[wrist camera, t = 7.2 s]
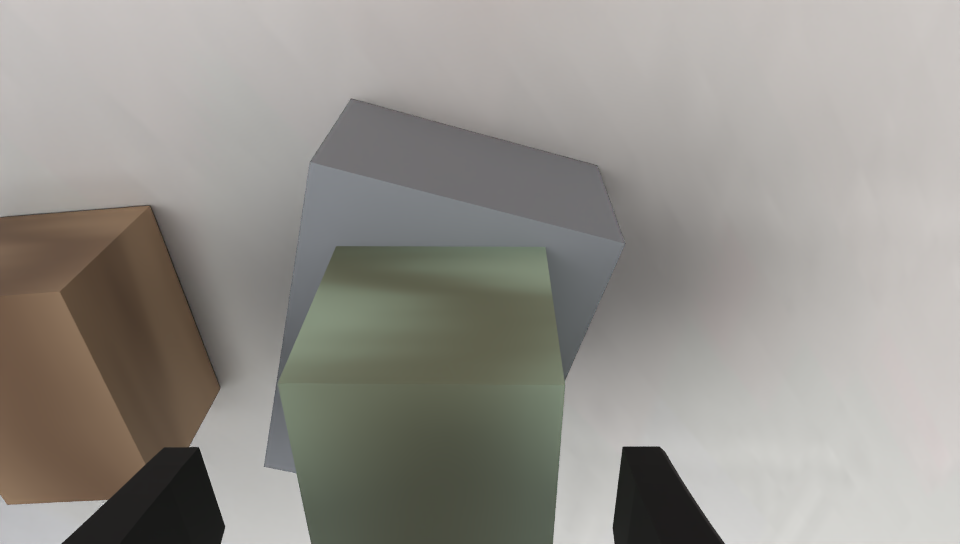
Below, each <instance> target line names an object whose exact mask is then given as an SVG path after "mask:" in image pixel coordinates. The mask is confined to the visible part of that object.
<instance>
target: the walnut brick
mask: <svg viewBox="0 0 960 544" xmlns="http://www.w3.org/2000/svg"><path fill="white" fill-rule="evenodd" d="M219 390H220V387H219V384H218V381H217V379H216V376H215V374H214V371H213V368H212V366H211V363H210V361H209V358H208V355H207V353H206V350H205V348H204V345H203V342H202V340H201V337H200V335H199V332H198V329H197V327H196V324H195V322H194V319H193V316H192V314H191V311H190V309H189V306H188V303H187V301H186V298H185V296H184V293H183V290H182V288H181V285H180V283H179V280H178V277H177V275H176V272H175V270H174V267H173V264H172V262H171V259H170V257H169V254H168V251H167V249H166V246H165V244H164V241H163V238H162V236H161V233H160V230H159V228H158V225H157V223H156V220H155V217H154V215H153V212H152V210H151V207H150V206H139V207H127V208H114V209H102V210H89V211H76V212H64V213H51V214H38V215H26V216H13V217H1V218H0V495H1V496H2V498H3V499H4V501H5V502H6V504H7V505H11V504H31V503H52V502H72V501H93V500H109V499H110V498H111V497H112V496H113V495H114V494H115V493H116V492H117V491H118V490H119V489H120V488H121V487H122V486H123V485H125V484H126V483H127V482H128V481H129V480H130V479H131V478H132V477H133V476H134V475H135V474H136V473H137V472H138V471H139V470H140V469H141V468H142V467H143V466H144V465H145V464H146V463H148V462H149V461H150V460H151V459H152V458H153V457H154V456H155V455H156V454H157V453H158V452H159V451H160V450H162V449H163V448H164V447H189V446H190V444H191V442H192V440H193V438H194V437H195V435H196V433H197V431H198V429H199V427H200V425H201V424H202V422H203V420H204V418H205V416H206V414H207V412H208V411H209V409H210V407H211V405H212V403H213V401H214V399H215V398H216V396H217V394H218V392H219Z"/></svg>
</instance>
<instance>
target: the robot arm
mask: <svg viewBox="0 0 960 544" xmlns="http://www.w3.org/2000/svg"><path fill="white" fill-rule="evenodd" d="M224 530H225V525H224V522H223V519H222V516H221V513H220V510H219V507H218V504H217V501H216V498H215V494H214V491H213V488H212V485H211V482H210V479H209V476H208V473H207V470H206V467H205V464H204V461H203V458H202V455H201V452H200V449H199V447H164V448H163V449H162V450H160V451H159V452H158V453H157V454H156V455H155V456H154V457H153V458H152V459H151V460H150V461H149V462H148V463H146V464H145V465H144V466H143V467H142V468H141V469H140V470H139V471H138V472H137V473H136V474H135V475H134V476H133V477H132V478H131V479H130V480H129V481H128V482H127V483H126V484H125V485H123V486H122V487H121V488H120V489H119V490H118V491H117V492H116V493H115V494H114V495H113V496H112V497H111V498H110V499H109V500H108V501H107V502H106V503H105V504H104V505H103V506H101V507H100V508H99V509H98V510H97V511H96V512H95V513H94V514H93V515H92V516H91V517H90V518H89V519H88V520H87V521H86V522H85V523H83V524H82V525H81V526H80V527H79V528H78V529H77V530H76V531H75V532H74V533H73V534H72V535H71V536H69V537H68V538H67V539H66V540H65V541H64V542H63V543H62V544H221V541H222V537H223V533H224ZM613 534H614V542H615V544H725V543H724V542H723V540H722V539H721V538H720V536H719V535H718V534H717V532H716V531H715V529H714V528H713V526H712V525H711V524H710V522H709V521H708V519H707V518H706V516H705V515H704V513H703V512H702V510H701V509H700V507H699V506H698V504H697V503H696V501H695V500H694V498H693V497H692V495H691V494H690V492H689V490H688V489H687V487H686V486H685V484H684V483H683V481H682V479H681V478H680V476H679V475H678V473H677V471H676V470H675V468H674V466H673V465H672V463H671V461H670V460H669V458H668V456H667V454H666V453H665V451H664V450H663V449H661V448H660V447H623V448H622V457H621V465H620V473H619V481H618V489H617V497H616V505H615V514H614V522H613Z"/></svg>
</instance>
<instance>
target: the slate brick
mask: <svg viewBox="0 0 960 544" xmlns="http://www.w3.org/2000/svg"><path fill="white" fill-rule="evenodd" d="M624 245H625V241H624V239H623V236H622V233H621V230H620V227H619V225H618V222H617V219H616V216H615V213H614V211H613V208H612V205H611V202H610V199H609V196H608V194H607V191H606V188H605V185H604V182H603V180H602V177H601V174H600V171H599V168H598V166H597V165H593V164H589V163H586V162H582V161H578V160H575V159H571V158H567V157H564V156H560V155H556V154H553V153H549V152H545V151H542V150H538V149H534V148H531V147H527V146H523V145H520V144H516V143H512V142H509V141H505V140H501V139H498V138H494V137H490V136H487V135H483V134H479V133H476V132H472V131H468V130H465V129H461V128H457V127H453V126H450V125H446V124H442V123H439V122H435V121H431V120H428V119H424V118H420V117H417V116H413V115H409V114H406V113H402V112H398V111H395V110H391V109H387V108H384V107H380V106H376V105H373V104H369V103H365V102H362V101H358V100H354V99H351V100H350V101H349V103H348V104H347V106H346V107H345V109H344V111H343V112H342V114H341V115H340V117H339V118H338V120H337V121H336V123H335V124H334V126H333V127H332V129H331V131H330V132H329V134H328V135H327V137H326V138H325V140H324V141H323V143H322V144H321V146H320V147H319V149H318V150H317V152H316V154H315V155H314V157H313V158H312V160H311V161H310V165H309V172H308V178H307V185H306V191H305V198H304V205H303V211H302V218H301V225H300V231H299V238H298V244H297V251H296V258H295V264H294V271H293V278H292V284H291V291H290V297H289V304H288V311H287V317H286V324H285V330H284V337H283V344H282V350H281V357H280V364H279V370H278V377H277V383H276V390H275V397H274V403H273V410H272V417H271V423H270V430H269V436H268V443H267V450H266V456H265V463H264V467H268V468H273V469H278V470H283V471H288V472H293V473H296V468H295V464H294V459H293V454H292V449H291V445H290V440H289V435H288V430H287V426H286V421H285V416H284V411H283V407H282V402H281V397H280V392H279V388H278V381H279V379H280V376H281V374H282V372H283V369H284V367H285V365H286V362H287V360H288V358H289V355H290V353H291V351H292V348H293V346H294V344H295V341H296V339H297V337H298V334H299V332H300V330H301V327H302V325H303V323H304V320H305V318H306V316H307V313H308V311H309V308H310V306H311V304H312V301H313V299H314V297H315V294H316V292H317V290H318V287H319V285H320V283H321V280H322V278H323V276H324V273H325V271H326V269H327V266H328V264H329V262H330V259H331V257H332V255H333V252H334V250H335V248H336V246H438V247H545V248H546V255H547V262H548V269H549V276H550V283H551V290H552V297H553V304H554V311H555V318H556V325H557V332H558V339H559V346H560V354H561V361H562V368H563V375H564V381H565V379H566V377H567V374H568V372H569V370H570V368H571V365H572V363H573V361H574V359H575V356H576V354H577V352H578V350H579V347H580V345H581V343H582V340H583V338H584V336H585V334H586V331H587V329H588V327H589V325H590V322H591V320H592V318H593V316H594V313H595V311H596V309H597V307H598V304H599V302H600V300H601V297H602V295H603V293H604V291H605V288H606V286H607V284H608V282H609V279H610V277H611V275H612V273H613V270H614V268H615V266H616V264H617V261H618V259H619V257H620V255H621V252H622V250H623V248H624Z"/></svg>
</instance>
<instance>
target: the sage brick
mask: <svg viewBox="0 0 960 544" xmlns="http://www.w3.org/2000/svg"><path fill="white" fill-rule="evenodd" d="M278 388H279V392H280V397H281V402H282V407H283V411H284V416H285V421H286V426H287V430H288V435H289V440H290V445H291V449H292V454H293V459H294V464H295V468H296V473H297V478H298V483H299V488H300V492H301V497H302V502H303V507H304V511H305V516H306V521H307V526H308V530H309V535H310V540H311V544H553V534H554V521H555V508H556V495H557V482H558V469H559V456H560V443H561V430H562V417H563V404H564V391H565V382H564V375H563V368H562V361H561V354H560V346H559V339H558V332H557V325H556V318H555V311H554V304H553V297H552V290H551V283H550V276H549V269H548V262H547V255H546V248H545V247H438V246H336V248H335V250H334V252H333V255H332V257H331V259H330V262H329V264H328V266H327V269H326V271H325V273H324V276H323V278H322V280H321V283H320V285H319V287H318V290H317V292H316V294H315V297H314V299H313V301H312V304H311V306H310V308H309V311H308V313H307V316H306V318H305V320H304V323H303V325H302V327H301V330H300V332H299V334H298V337H297V339H296V341H295V344H294V346H293V348H292V351H291V353H290V355H289V358H288V360H287V362H286V365H285V367H284V369H283V372H282V374H281V376H280V379H279V381H278Z"/></svg>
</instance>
